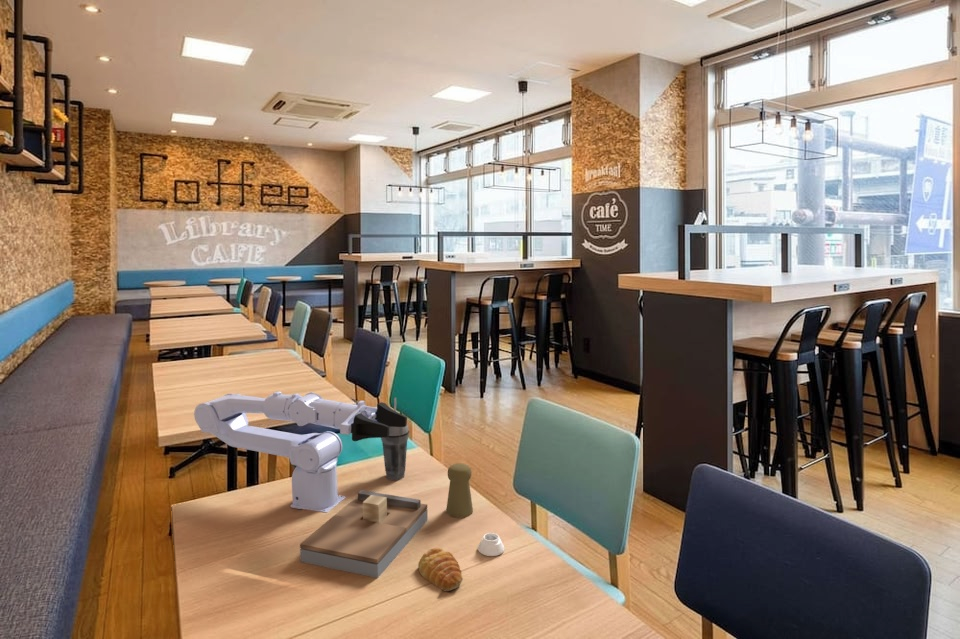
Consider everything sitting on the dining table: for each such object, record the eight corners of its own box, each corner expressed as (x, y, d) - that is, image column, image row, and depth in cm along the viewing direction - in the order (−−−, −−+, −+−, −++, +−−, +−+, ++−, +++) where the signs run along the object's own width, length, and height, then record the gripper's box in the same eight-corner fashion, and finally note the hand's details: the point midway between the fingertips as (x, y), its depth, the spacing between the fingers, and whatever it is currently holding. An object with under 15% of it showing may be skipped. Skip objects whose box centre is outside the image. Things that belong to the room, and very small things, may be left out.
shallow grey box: (300, 564, 110) (300, 549, 110) (360, 510, 131) (360, 497, 130) (377, 580, 105) (377, 564, 105) (427, 522, 126) (427, 509, 125)
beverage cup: (376, 481, 146) (374, 402, 143) (386, 469, 153) (384, 394, 150) (405, 483, 145) (403, 404, 142) (413, 471, 152) (412, 395, 149)
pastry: (472, 586, 104) (472, 566, 103) (437, 598, 100) (437, 578, 100) (446, 560, 112) (446, 541, 111) (414, 571, 108) (413, 552, 108)
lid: (300, 548, 110) (299, 536, 109) (360, 497, 130) (360, 487, 130) (377, 563, 105) (377, 551, 104) (427, 508, 125) (427, 497, 125)
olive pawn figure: (474, 507, 133) (474, 460, 131) (471, 520, 127) (471, 471, 125) (448, 506, 133) (447, 459, 131) (443, 519, 127) (443, 470, 125)
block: (363, 534, 120) (362, 502, 119) (372, 526, 123) (371, 494, 122) (379, 537, 119) (378, 504, 117) (387, 529, 122) (386, 497, 121)
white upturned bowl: (473, 549, 116) (488, 560, 112) (473, 535, 115) (488, 546, 111) (493, 541, 119) (509, 552, 115) (493, 527, 118) (509, 538, 114)
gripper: (322, 406, 121) (380, 417, 117) (360, 390, 135) (414, 399, 130) (321, 439, 122) (379, 451, 118) (359, 420, 136) (412, 430, 131)
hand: (397, 426), depth 124 cm, fingers open, 7 cm apart
